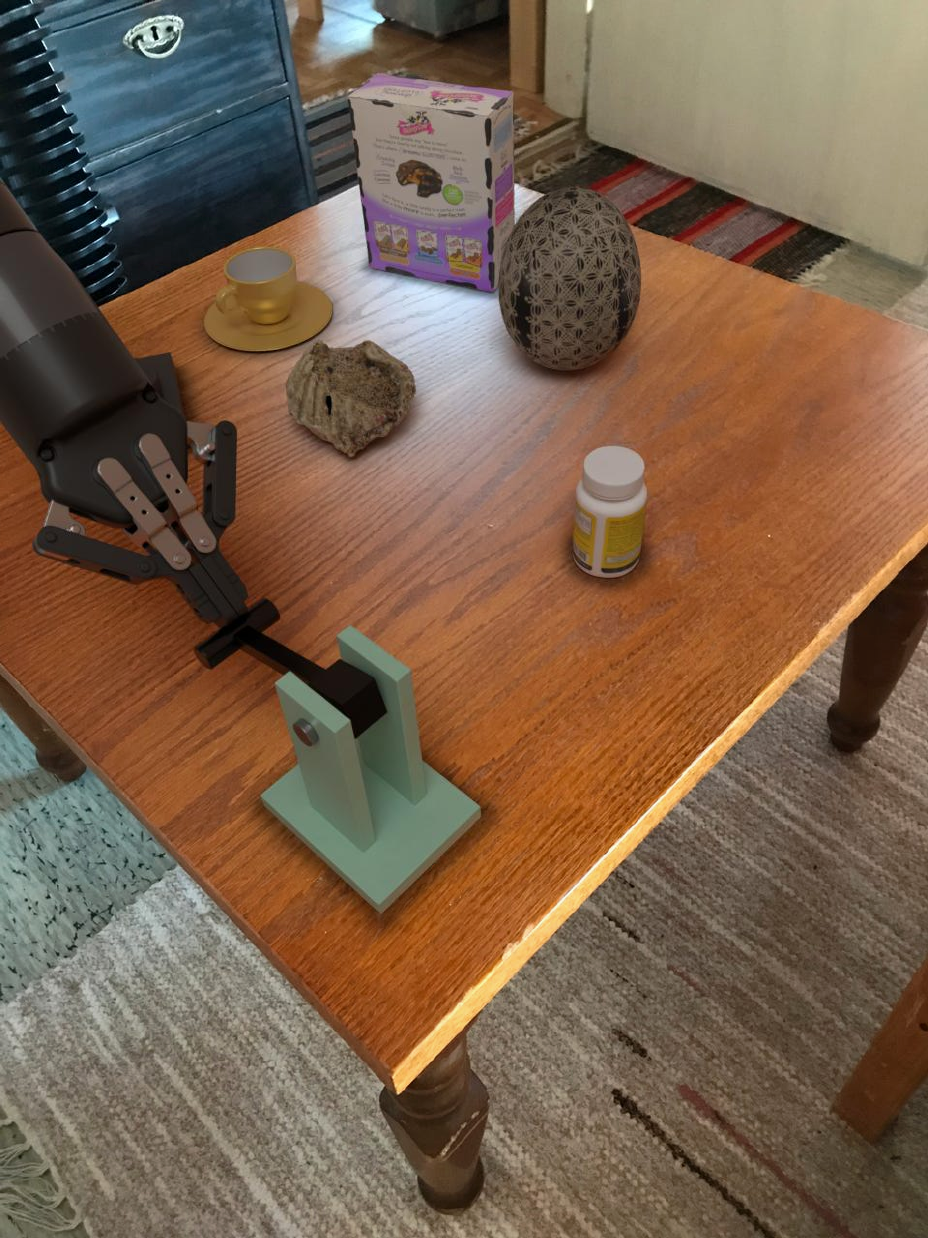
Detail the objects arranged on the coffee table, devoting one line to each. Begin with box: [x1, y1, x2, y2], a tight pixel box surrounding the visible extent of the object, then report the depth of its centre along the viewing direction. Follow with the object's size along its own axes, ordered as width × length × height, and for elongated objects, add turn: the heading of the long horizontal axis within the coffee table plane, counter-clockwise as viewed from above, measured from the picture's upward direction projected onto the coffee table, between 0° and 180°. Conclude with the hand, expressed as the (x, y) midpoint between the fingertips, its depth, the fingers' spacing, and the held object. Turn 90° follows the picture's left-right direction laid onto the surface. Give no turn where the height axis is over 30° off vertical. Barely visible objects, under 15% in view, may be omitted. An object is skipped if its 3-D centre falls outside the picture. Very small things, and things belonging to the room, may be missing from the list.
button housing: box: [133, 351, 191, 449], centre depth 81 cm, size 11×9×4 cm
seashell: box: [285, 339, 417, 458], centre depth 79 cm, size 11×7×10 cm
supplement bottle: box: [572, 445, 648, 579], centre depth 67 cm, size 5×5×8 cm
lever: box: [192, 597, 387, 739], centre depth 52 cm, size 12×5×2 cm, turn 47°
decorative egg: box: [497, 186, 642, 371], centre depth 80 cm, size 12×12×15 cm
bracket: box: [259, 624, 482, 915], centre depth 52 cm, size 10×8×13 cm
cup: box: [203, 245, 334, 352], centre depth 90 cm, size 12×12×5 cm
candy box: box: [347, 72, 516, 293], centre depth 91 cm, size 14×6×16 cm, turn 65°
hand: (234, 618), depth 55 cm, fingers closed
